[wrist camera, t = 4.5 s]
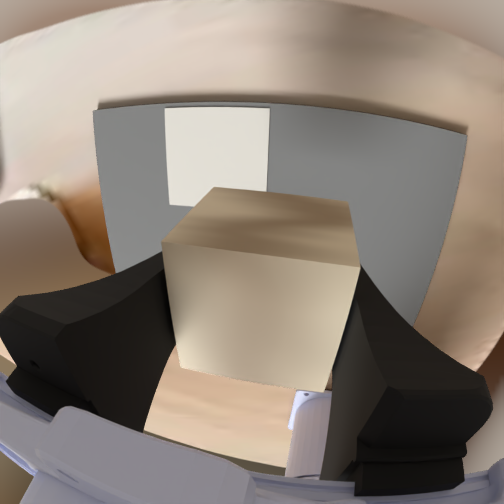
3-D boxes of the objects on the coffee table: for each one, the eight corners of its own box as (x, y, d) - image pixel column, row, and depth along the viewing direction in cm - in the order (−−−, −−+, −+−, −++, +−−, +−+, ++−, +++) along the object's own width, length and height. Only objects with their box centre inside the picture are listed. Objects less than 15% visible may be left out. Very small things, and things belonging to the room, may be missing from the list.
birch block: (348, 201, 11) (360, 267, 7) (327, 309, 14) (323, 392, 10) (213, 186, 12) (161, 241, 8) (216, 293, 14) (180, 367, 11)
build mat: (464, 134, 15) (468, 135, 14) (397, 354, 24) (398, 359, 23) (97, 109, 19) (91, 110, 18) (129, 313, 28) (126, 317, 27)
